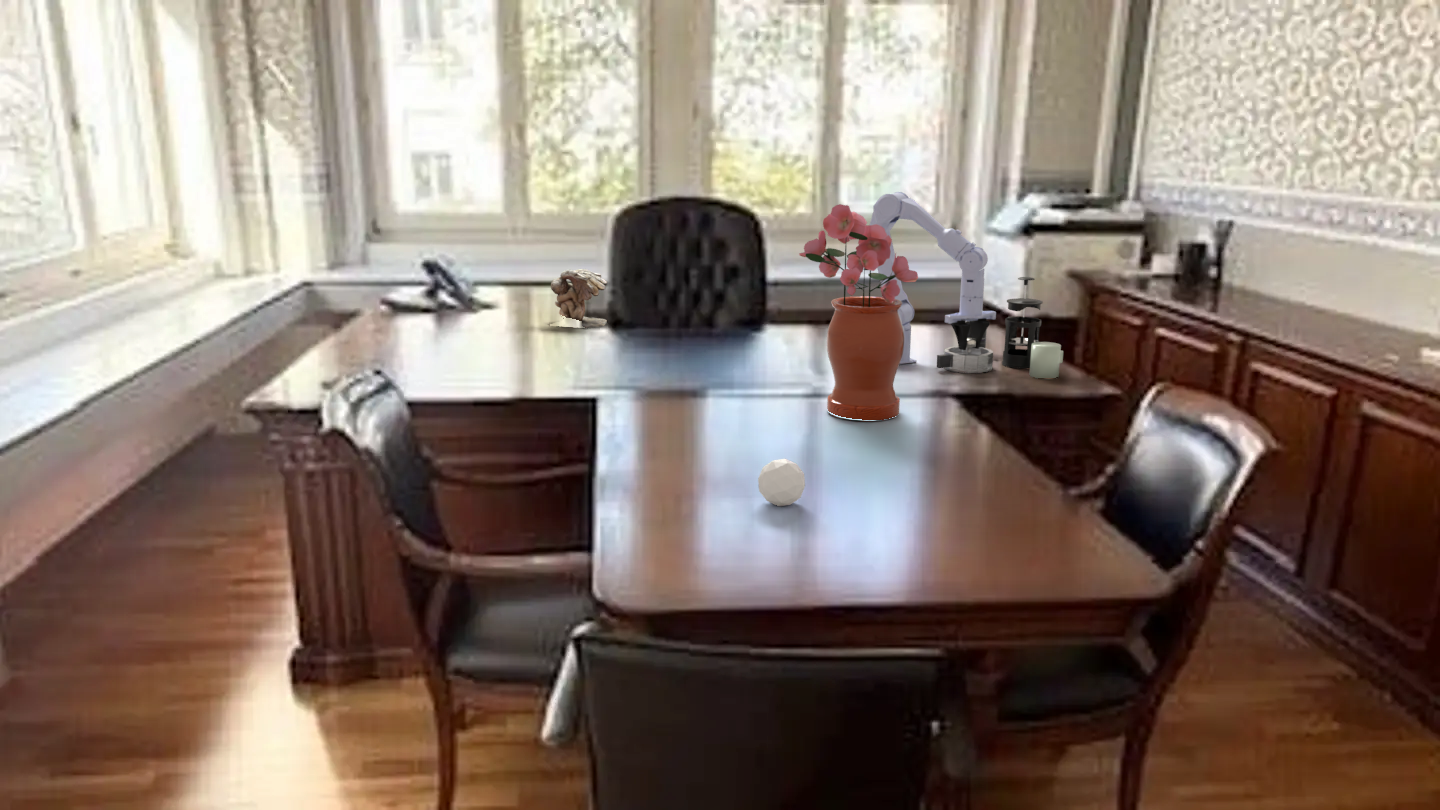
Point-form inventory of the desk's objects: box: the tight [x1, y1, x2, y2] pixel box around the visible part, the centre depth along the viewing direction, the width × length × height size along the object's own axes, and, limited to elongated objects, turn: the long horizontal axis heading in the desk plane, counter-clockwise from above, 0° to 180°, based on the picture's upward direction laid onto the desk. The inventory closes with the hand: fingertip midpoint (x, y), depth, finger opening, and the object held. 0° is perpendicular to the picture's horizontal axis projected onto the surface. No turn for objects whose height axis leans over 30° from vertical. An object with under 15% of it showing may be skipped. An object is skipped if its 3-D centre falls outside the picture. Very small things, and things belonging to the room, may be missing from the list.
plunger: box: [966, 338, 976, 355], centre depth 270 cm, size 9×9×6 cm
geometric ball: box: [757, 458, 806, 507], centre depth 174 cm, size 8×8×8 cm
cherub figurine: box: [550, 268, 608, 329], centre depth 334 cm, size 18×18×18 cm
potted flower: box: [798, 203, 919, 421], centre depth 226 cm, size 19×25×45 cm
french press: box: [1001, 276, 1044, 370], centre depth 273 cm, size 12×9×23 cm
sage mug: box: [1028, 341, 1064, 379], centre depth 262 cm, size 9×7×8 cm
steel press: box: [936, 345, 994, 374], centre depth 270 cm, size 15×12×5 cm
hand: (968, 348), depth 270 cm, fingers closed on plunger, 3 cm apart
